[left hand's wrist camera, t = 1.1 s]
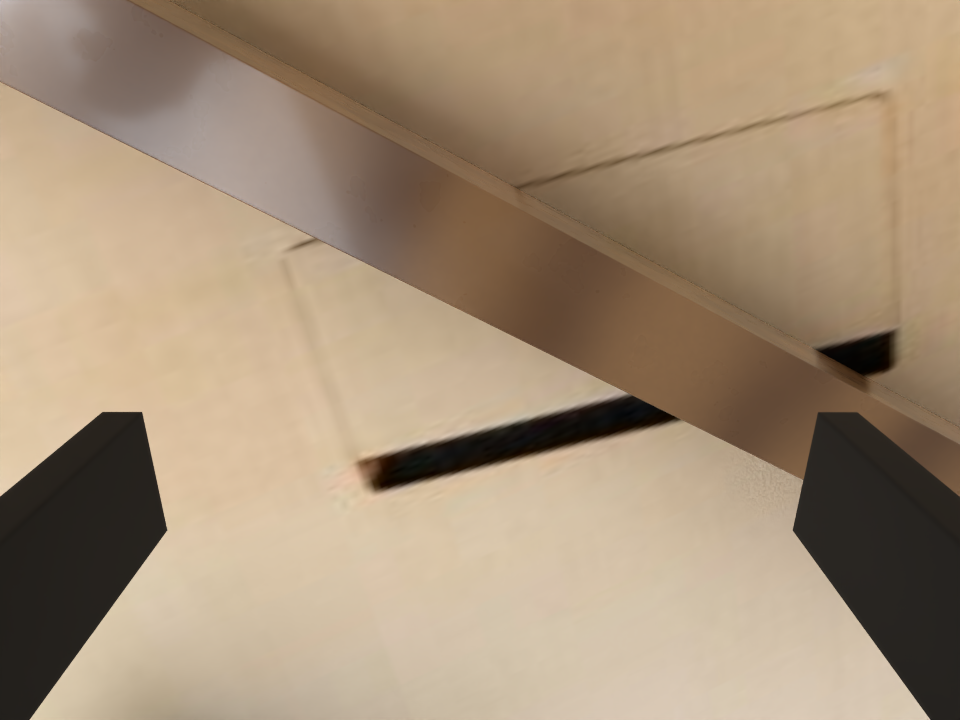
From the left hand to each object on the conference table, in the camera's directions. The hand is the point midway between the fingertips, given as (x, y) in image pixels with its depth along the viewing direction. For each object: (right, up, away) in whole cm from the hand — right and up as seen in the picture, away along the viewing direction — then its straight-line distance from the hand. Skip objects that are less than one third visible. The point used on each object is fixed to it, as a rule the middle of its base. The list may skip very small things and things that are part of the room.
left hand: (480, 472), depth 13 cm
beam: (+4, +8, +22) cm, 24 cm away
